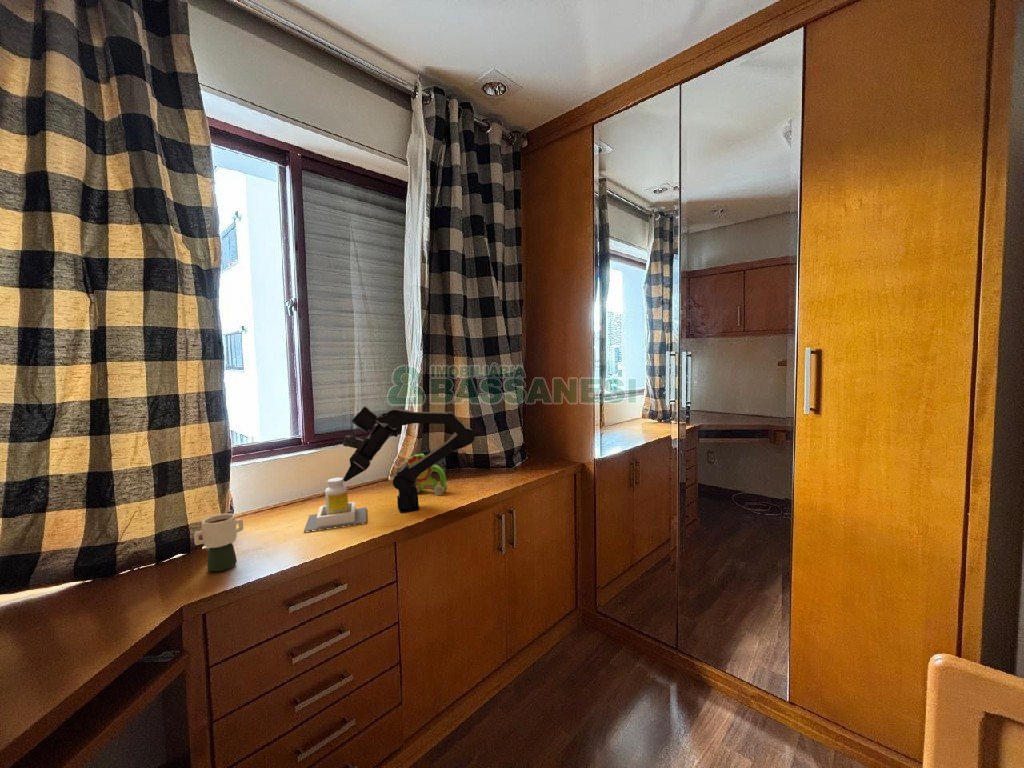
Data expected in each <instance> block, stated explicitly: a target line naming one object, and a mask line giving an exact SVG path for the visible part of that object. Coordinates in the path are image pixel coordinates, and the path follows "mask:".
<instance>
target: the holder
mask: <svg viewBox="0 0 1024 768" xmlns="http://www.w3.org/2000/svg"><path fill="white" fill-rule="evenodd" d="M318 508H319V509H318V512H317V513H315V514H309V516H308V519H307V521H306V525H305V528H304V530H303V532H306V531H312V530H319V529H327V528H333V529H335V528H334V527H340V528H343V527H342V526H347V527H349V526H348V525H353V526H355V525H354V524H360V525H363V524H362V523H366V521H367V507H358V508H357V507H356V502H355V501H348V512H347V513H340V514H333V515H327V514H326V505H320V506H319V507H318ZM327 530H328V529H327Z"/></svg>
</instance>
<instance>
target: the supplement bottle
mask: <svg viewBox="0 0 1024 768" xmlns="http://www.w3.org/2000/svg"><path fill="white" fill-rule="evenodd" d="M343 479H344V477H333V478H330V479H327V485H328V487H326V488H325V489H324V496H325V497H324V498H325V506H326V514H327V515H333V514H340V513H347V512H348V502H349V501H348V500H349V499H348V498H349V497H348V488H347V486H346V485H344V481H343Z"/></svg>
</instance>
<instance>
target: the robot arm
mask: <svg viewBox="0 0 1024 768" xmlns="http://www.w3.org/2000/svg"><path fill="white" fill-rule="evenodd" d="M350 422H351V424H353V425H355V426H356V427H357V428H359V429H360V430H362V431H363V432H366V431H367V432H368V431H369V432H370V431H371V432H370V433H369V435H368V436H366V437H365V438H364V439H362V438H360V437H357V436H355V435H352V434H351V435H346V436H345V437H344V439H343V443H342V446H343V447H349V448H353V449H355V450H354V452H353V453H352V455H351V456H350V458H349V468H348V469H347V472H346V473H345V475H344V477H343V482H345V483H346V482H348V481H350V480H351V479H353V478H354V477H356V476H358V475H360V474H362V473H363V472H366V470H367V469H368V468H370V466H371V461H373V460H374V457H375V456H376V455H377V453H378V452H379V451H380V450H381V449H382V448H383V446H384V445H385V444H386V442H387V441H388V439H389V438H390V437H391V436H394V437H395V438H398V429H397V428H395V427H403V426H408V425H411V424H429V425H432V424H433V425H434V424H435V425H437V424H438V425H439V424H440V425H448V426H449V428H450V429H451V430H452V431H453V432H454V433H452V435H451V436H450V437H449V438H448V440H447V441H445V442H444V443H442V444H441V445H439V446H438V447H436V448H435V449H433V450H432V451H430V452H428V453H427V454H426V455H425V456H424V457H423V458H422V459H420V460H419V461H417V462H416V463H414V464H411V465H408V464H407V462H408V461H406V462H404V463H403V464H402V465H401V466H400V467H396V471H395V472H394V473H393V478H392V486H393V487H394V489H396V490H398V495H397V496H396V497H397V498H396V501H397V502H396V503H397V505H396V506H397V509H398V510H399V513H409V512H415V511H420V509H421V508H420V506H419V505H420V504H419V493H418V490H417V484H416V481H415V480H416V478H417V477H418V476H419V475H420V474H421V473H422V472H424V471H425V470H427V469H428V468H430V467H431V466H433V465H434V464H435V465H436V464H437V463H438V462H440V461H441V460H443V459H444V458H446V457H447V456H448V455H450V454H451V453H453V452H454V451H457V450H461V449H464V448H465V447H468V446H470V445H471V444H473V442H474V441H475V437H476V436H475V433H474V431H473V430H472V428H471V427H470V426H466V425H464V424H463V423H462V422H461V421H460V420H459V419H458V418H457V417H456V415H455V414H454V413H453V412H452V411H446V412H445V411H444V412H442V411H441V412H440V411H439V412H437V411H435V412H434V411H432V412H431V411H411V410H407V409H404V408H399V407H392V408H390V409H389V410H388V411H387V412H384V413H379V414H376V413H374V412H373V411H371V409H370V408H368V406H366V405H365V406H363V408H362V409H361V410H360V411H358V413H357V414H355V416H354V417H353V418H352V420H351V421H350ZM383 424H385V425H383ZM375 425H376V426H375ZM392 427H394V428H392ZM372 429H373V430H372Z"/></svg>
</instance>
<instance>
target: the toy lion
mask: <svg viewBox="0 0 1024 768" xmlns="http://www.w3.org/2000/svg"><path fill="white" fill-rule="evenodd" d="M424 456H426V455H425V454H424V453H420V454H418V453H417V454H414V455H413V456H411V457H409V458H408V460H407V461H406V462H407V464H408V465H411V464H414V463H416V462H417V461H419V460H420V459H422V458H423V457H424ZM433 472H436V473H437V474H438V475H439V479H440V482H438V481H437V479H435V478H433V477H432V473H433ZM446 476H447V475H446V473H445V471H444V469H443V467H441V466H440V465H438V464H436V463H435V464H434V465H433V466H431V467H430V468H428V469H427V470H425V471H424V472H422V473H421V474H420V475H419V476H418V477H417V478H416V480H415V481H416V484H417V490H418V494H419V493H420V492H421V491H425V490H431V491H433V493H434V494H435V496H441V495H443V494H444V493H445V492H446V491H447V490H448V484H447V479H446V478H447V477H446Z"/></svg>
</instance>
